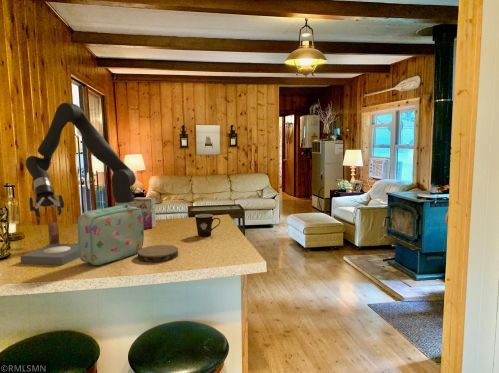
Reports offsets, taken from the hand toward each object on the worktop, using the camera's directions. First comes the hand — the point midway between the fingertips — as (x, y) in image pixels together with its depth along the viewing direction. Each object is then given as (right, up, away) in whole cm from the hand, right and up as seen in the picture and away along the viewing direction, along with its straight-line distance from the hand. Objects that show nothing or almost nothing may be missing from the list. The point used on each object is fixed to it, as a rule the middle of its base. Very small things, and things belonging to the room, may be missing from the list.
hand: (49, 215), depth 172 cm
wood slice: (+56, -15, -22) cm, 62 cm away
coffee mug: (+72, -11, +12) cm, 74 cm away
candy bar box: (+35, -9, +33) cm, 49 cm away
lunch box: (+38, -16, -23) cm, 47 cm away
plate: (+14, -15, -21) cm, 30 cm away
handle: (+5, -14, -5) cm, 16 cm away
